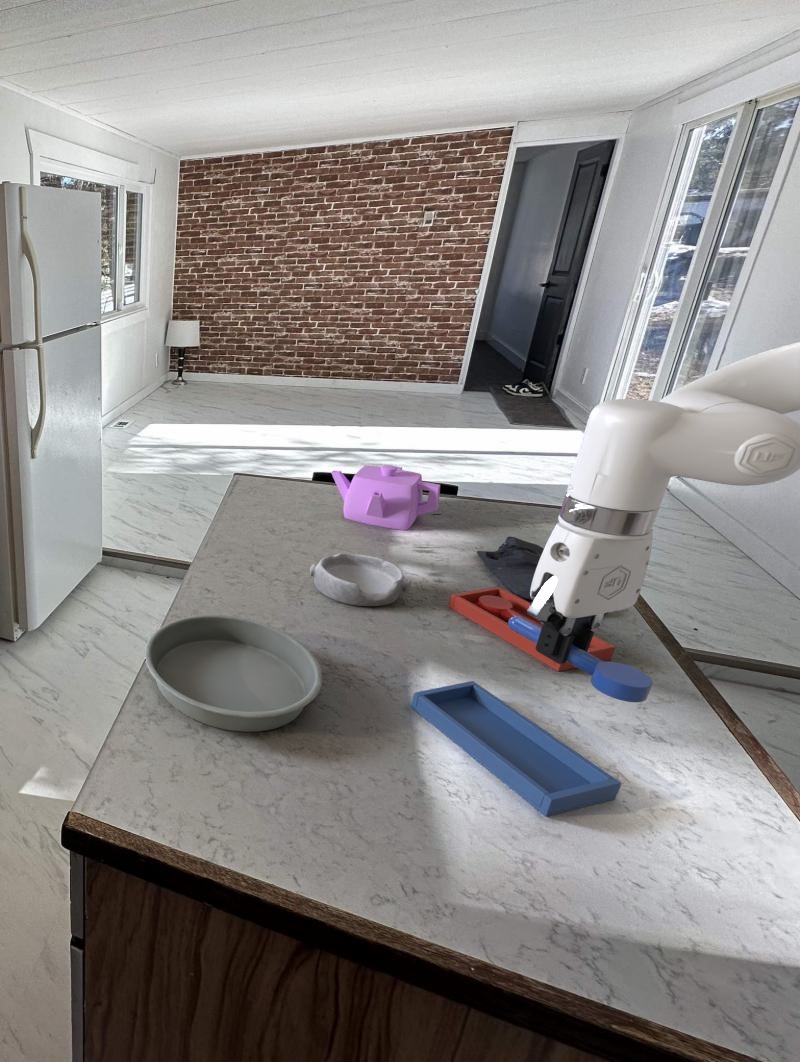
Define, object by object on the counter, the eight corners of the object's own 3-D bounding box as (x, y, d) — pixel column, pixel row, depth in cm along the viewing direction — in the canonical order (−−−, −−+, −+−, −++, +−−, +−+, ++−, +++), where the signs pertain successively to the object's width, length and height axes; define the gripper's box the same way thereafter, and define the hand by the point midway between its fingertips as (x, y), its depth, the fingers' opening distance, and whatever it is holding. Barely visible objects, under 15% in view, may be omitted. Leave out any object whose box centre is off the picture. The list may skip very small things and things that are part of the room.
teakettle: (441, 528, 140) (452, 475, 136) (366, 534, 139) (376, 481, 135) (390, 500, 156) (399, 452, 151) (323, 506, 155) (330, 457, 150)
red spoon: (583, 653, 97) (587, 642, 96) (558, 658, 96) (562, 647, 95) (492, 603, 111) (494, 593, 110) (469, 607, 110) (472, 597, 109)
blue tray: (410, 707, 89) (413, 692, 88) (469, 695, 90) (472, 680, 89) (545, 817, 71) (551, 800, 70) (615, 799, 73) (622, 782, 72)
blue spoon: (493, 629, 82) (497, 616, 81) (523, 623, 83) (527, 610, 82) (624, 705, 68) (629, 690, 67) (658, 698, 69) (664, 683, 68)
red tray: (448, 606, 111) (451, 594, 110) (494, 598, 113) (498, 586, 112) (558, 671, 94) (562, 657, 93) (611, 660, 96) (616, 646, 95)
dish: (417, 600, 114) (422, 575, 112) (357, 618, 110) (362, 592, 108) (350, 566, 126) (354, 543, 125) (294, 581, 122) (297, 558, 120)
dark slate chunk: (497, 604, 111) (503, 580, 109) (473, 551, 129) (478, 530, 128) (611, 621, 105) (619, 596, 103) (569, 563, 123) (576, 541, 121)
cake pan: (116, 654, 104) (117, 631, 102) (247, 625, 109) (249, 602, 108) (201, 761, 82) (203, 733, 80) (359, 716, 87) (364, 690, 86)
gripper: (582, 537, 65) (534, 685, 72) (705, 518, 67) (647, 663, 74) (512, 510, 72) (475, 648, 78) (627, 494, 74) (581, 628, 81)
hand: (559, 654), depth 76 cm, fingers closed on blue spoon, 2 cm apart
